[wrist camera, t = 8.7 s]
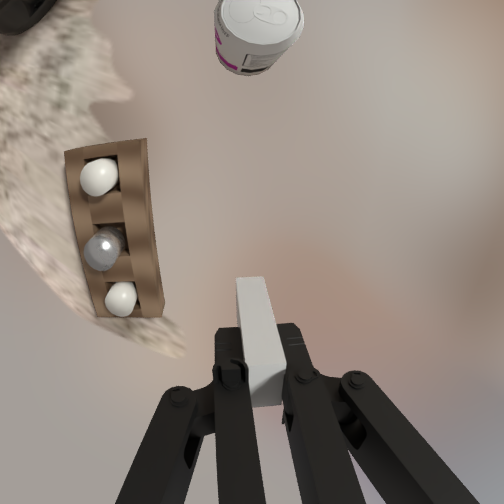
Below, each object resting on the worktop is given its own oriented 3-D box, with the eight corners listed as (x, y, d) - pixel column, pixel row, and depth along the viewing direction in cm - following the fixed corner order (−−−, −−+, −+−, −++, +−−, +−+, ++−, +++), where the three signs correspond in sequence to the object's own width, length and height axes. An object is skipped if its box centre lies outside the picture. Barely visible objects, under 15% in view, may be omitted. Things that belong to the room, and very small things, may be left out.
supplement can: (207, 67, 33) (200, 36, 19) (228, 16, 30) (233, -34, 16) (266, 84, 35) (291, 64, 21) (285, 34, 32) (319, -6, 18)
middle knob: (93, 226, 36) (80, 239, 32) (122, 224, 36) (111, 237, 32) (99, 256, 38) (87, 271, 34) (127, 255, 38) (117, 270, 34)
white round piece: (92, 158, 35) (78, 163, 30) (121, 154, 35) (109, 159, 31) (95, 189, 36) (82, 197, 32) (123, 186, 37) (112, 194, 33)
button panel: (76, 148, 35) (64, 151, 31) (146, 138, 36) (139, 140, 32) (104, 303, 46) (97, 316, 42) (165, 302, 47) (161, 317, 43)
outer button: (110, 276, 42) (101, 291, 38) (136, 275, 42) (129, 291, 38) (116, 300, 44) (108, 316, 40) (141, 299, 44) (135, 316, 40)
